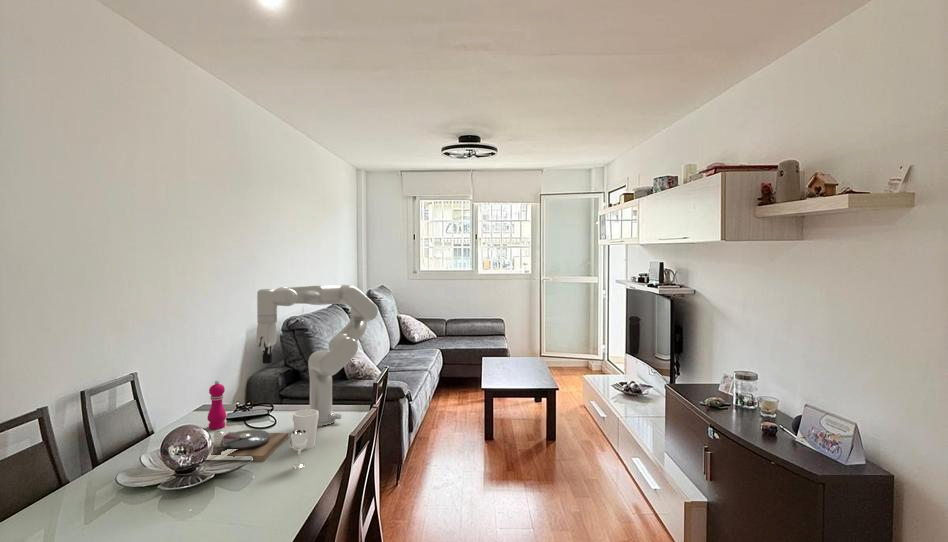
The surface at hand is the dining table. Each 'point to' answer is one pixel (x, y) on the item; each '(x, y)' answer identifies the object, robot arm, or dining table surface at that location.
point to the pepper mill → (216, 407)
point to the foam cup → (307, 424)
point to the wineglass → (299, 445)
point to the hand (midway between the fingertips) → (267, 363)
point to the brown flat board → (260, 447)
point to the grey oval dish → (239, 440)
